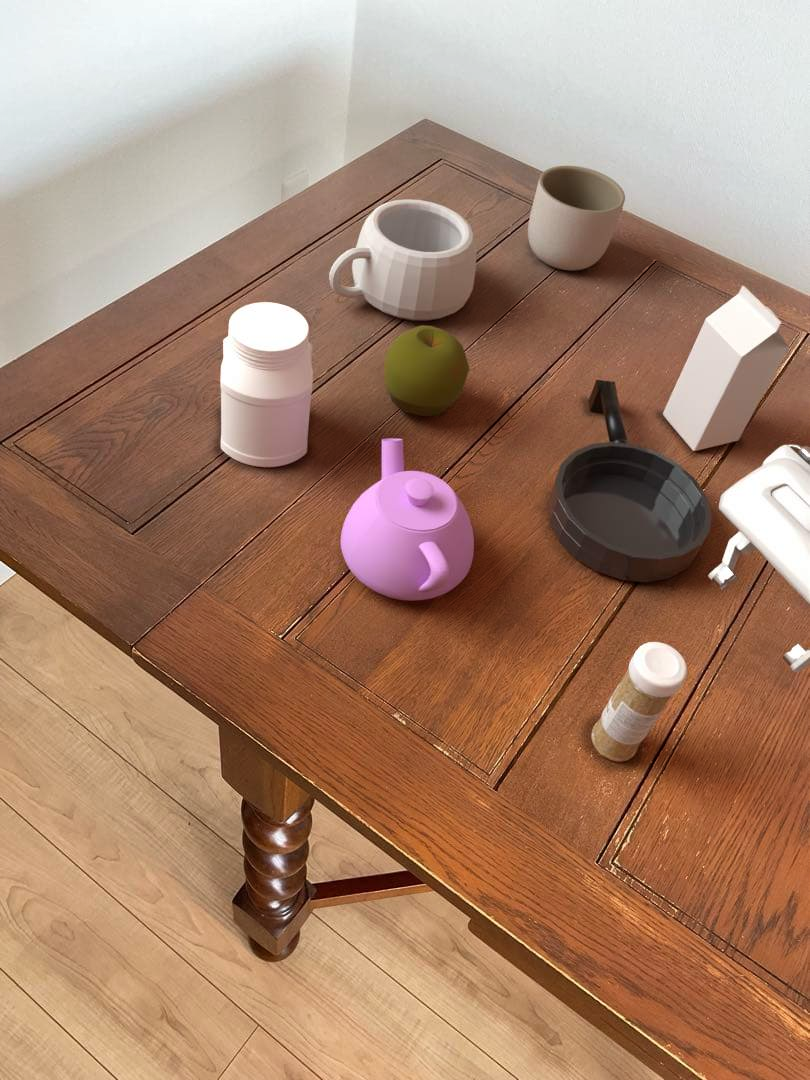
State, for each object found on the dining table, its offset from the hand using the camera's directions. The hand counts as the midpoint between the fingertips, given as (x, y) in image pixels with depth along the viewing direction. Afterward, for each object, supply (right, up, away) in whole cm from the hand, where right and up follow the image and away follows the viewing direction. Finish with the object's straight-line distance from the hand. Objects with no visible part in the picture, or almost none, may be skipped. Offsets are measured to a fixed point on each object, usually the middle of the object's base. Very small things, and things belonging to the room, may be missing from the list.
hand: (750, 623), depth 83 cm
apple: (-28, +24, +35) cm, 51 cm away
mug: (-31, +41, +50) cm, 71 cm away
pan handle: (-5, +20, +36) cm, 41 cm away
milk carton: (+8, +21, +40) cm, 46 cm away
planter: (-6, +50, +62) cm, 80 cm away
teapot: (-30, +6, +19) cm, 36 cm away
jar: (-46, +19, +28) cm, 57 cm away
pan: (-5, +9, +27) cm, 29 cm away
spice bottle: (-10, -12, +8) cm, 17 cm away
